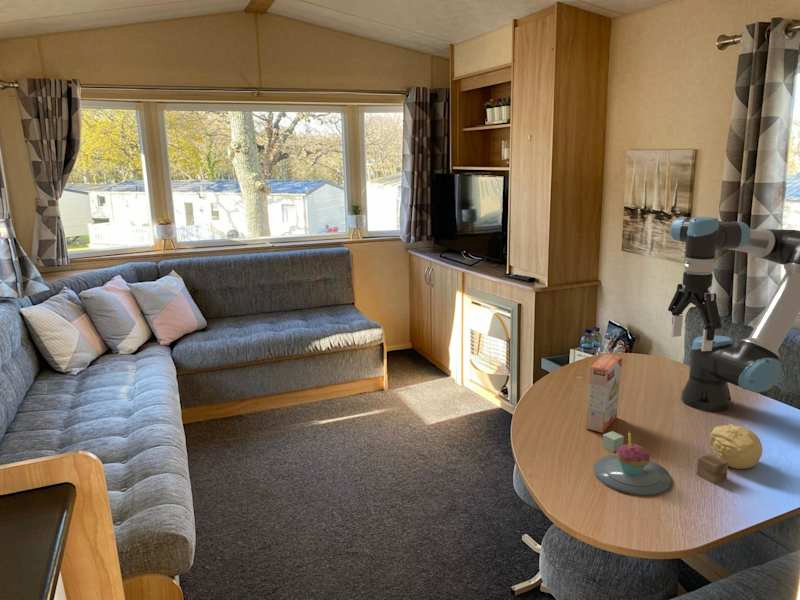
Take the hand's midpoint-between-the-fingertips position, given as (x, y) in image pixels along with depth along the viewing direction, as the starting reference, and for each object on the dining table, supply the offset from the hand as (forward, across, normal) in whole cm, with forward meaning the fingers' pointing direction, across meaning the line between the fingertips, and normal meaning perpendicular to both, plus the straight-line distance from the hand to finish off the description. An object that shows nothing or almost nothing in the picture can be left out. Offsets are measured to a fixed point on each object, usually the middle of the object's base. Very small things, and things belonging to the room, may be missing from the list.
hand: (690, 343), depth 175 cm
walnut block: (+29, +24, -8) cm, 38 cm away
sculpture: (+29, +19, +3) cm, 35 cm away
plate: (+29, +19, -28) cm, 44 cm away
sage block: (+29, +4, -25) cm, 38 cm away
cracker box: (+29, -11, -20) cm, 37 cm away
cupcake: (+28, +19, -28) cm, 43 cm away
